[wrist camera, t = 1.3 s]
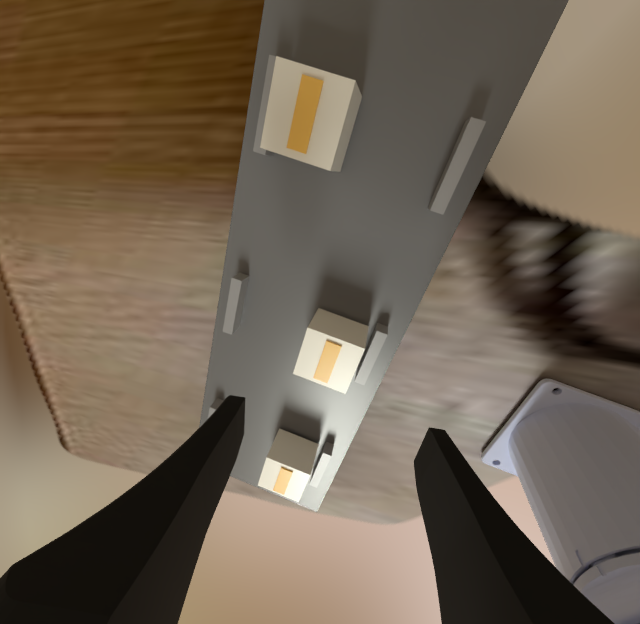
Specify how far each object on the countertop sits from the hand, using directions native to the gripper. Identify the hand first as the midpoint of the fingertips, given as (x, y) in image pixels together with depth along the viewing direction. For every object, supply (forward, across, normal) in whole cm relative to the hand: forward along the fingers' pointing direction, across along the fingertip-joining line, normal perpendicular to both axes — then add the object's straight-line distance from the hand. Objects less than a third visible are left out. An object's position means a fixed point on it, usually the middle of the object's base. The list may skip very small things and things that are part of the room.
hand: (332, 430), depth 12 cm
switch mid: (+7, 0, 0) cm, 7 cm away
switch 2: (+6, +2, +10) cm, 12 cm away
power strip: (+10, +2, 0) cm, 10 cm away
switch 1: (+8, +3, -10) cm, 13 cm away
